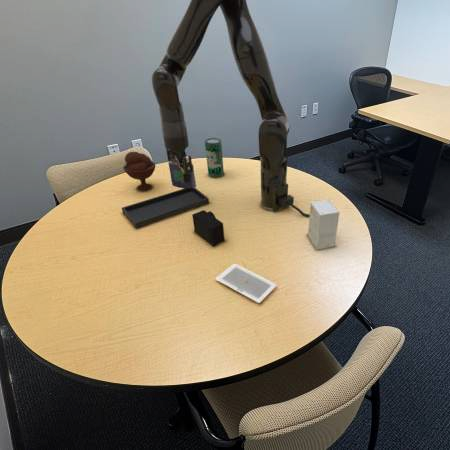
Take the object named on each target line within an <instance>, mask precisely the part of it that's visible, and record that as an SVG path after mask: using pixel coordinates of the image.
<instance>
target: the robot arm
mask: <svg viewBox="0 0 450 450" xmlns="http://www.w3.org/2000/svg"><path fill="white" fill-rule="evenodd" d="M219 7H220V10H221V13H222V15H223V18H224V21H225V24H226V28H227V33H228V34H227V35H228V39H229V43H230V47H231V48H230V49H231V52H232V55H233V58H234V59H233V60H234V62H235V65H236V66H237V70H238V72H239V75H240V77H241V79H242V81H243V83H244V84H245V86H246V87H247V89H248V90H249V92H250V93H251V95H252V96H253V98H254V100H255V102H256V105H257V107H258V110H259V113H260V117H261V122H260V124H259V127H258V153H259V158H260V205H261V208H262V209H265V210H266V211H272V212H274V213H276V212H278V211H281V210H283V209H286V208H288V207H289V206H290V207H291V208H293V209H294V210H296V211H297V212H298V213H299V214H301V216H304V217H307V218H309V217H310V213H305V212H303V211H302V210H301V209H300V208H299V207H298V206H296V205H295V204H294V199H295V198H294V196H293V195H291V194H289V183H287V181H288V180H287V178H288V158H289V157H288V153H287V152H288V151H287V150H288V135H289V133H290V122H289V119H288V116H287V114H286V112H285V110H284V107H283V105H282V103H281V100H280V98H279V96H278V92H277V88H276V84H275V81H274V77H273V73H272V69H271V66H270V63H269V60H268V56H267V53H266V50H265V47H264V45H263V41H262V39H261V37H260V34H259V32H258V29H257V27H256V24H255V22H254V20H253V17H252V14H251V13H250V10H249V6H248V3H247V0H190V2H189V3H188V6H187V9H186V11H185V13H184V15H183V16H182V18H181V20H180V22H179V24H178V26H177V27H176V30H175V32H174V33H173V35H172V37H171V39H170V41H169V43H168V45H167V48H166V53H165V55H164V56H163V58H162V60H161V62H160V64H159V65H158V67H157V68H155V70H154V71H153V72H152V75H151V85H152V90H153V93H154V96H155V99H156V102H157V105H158V111H159V117H160V122H161V123H160V125H161V132H162V138H163V143H164V147H165V151H166V156H167V161H168V162H169V161H171V162H172V161H173V160H175V161H176V162H177V164H178V166H179V168H181V170H182V173H183V179H184V183H189V182H191V178H190V173H192V172H193V168H192V164H193V161H192V156H191V155H187V152H186V149H187V148H188V147H189V145H190V143H189V137H188V130H187V123H186V120H185V115H184V107H183V104H182V102H181V100H180V96H179V90H178V86H179V85H180V83H181V82H182V79H183V77H184V75H185V73H186V71H187V68H188V67H189V65H190V64H191V63H192V61H193V59H194V57H195V56H196V54H197V52H198V50H199V48H200V46H201V44H202V42H203V40H204V37H205V35H206V32H207V30H208V28H209V25H210V23H211V21H212V19H213V17H214V15H215V13H216V12H217V10H218V9H219ZM181 163H183V164H181ZM183 167H184V168H183ZM189 167H190V168H189Z"/></svg>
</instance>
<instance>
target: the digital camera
mask: <svg viewBox="0 0 450 450" xmlns="http://www.w3.org/2000/svg"><path fill="white" fill-rule="evenodd" d="M191 217H192V222H193V229H194V230H193V231H194V233H195V234H197V235H198V236H199V237H200V238H202V239H203V240H204V241H206V242H207V243H208V244H209V245H210V246H212V247H215V246H218V245H220V244H222V243H223V242H225V230H224V223H223V222H222V221H221V220H219V219H218V218H217V217H216V215H215V214H214V212H212V211H210V210H209V211H206V210H205V209H202V210H200V211H197V212H194V213H193V214H192V215H191Z"/></svg>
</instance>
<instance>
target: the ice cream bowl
mask: <svg viewBox="0 0 450 450" xmlns="http://www.w3.org/2000/svg"><path fill="white" fill-rule="evenodd" d="M124 162H125V164H124V165H123V167H122V168H123V170H124V172H125V173H126V175H128V176H129V177H130V178H132V179H134V180H138V181H140V184H138V186H137V187H136V190H137V191H139V192H148V191H150V190H152V189H153V186H152V184H151V183H148V182H147V181H146V179H149V178H150V177H152V175H153V174H154V172H155V169H156V163H155V162H154V161H153V160H151V158H150V157H149V156H148V155H147V154H145V153H141V152H137V151H130V152H127V153H126V154H125V156H124Z"/></svg>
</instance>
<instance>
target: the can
mask: <svg viewBox="0 0 450 450" xmlns="http://www.w3.org/2000/svg"><path fill="white" fill-rule="evenodd" d="M204 146H205V147H204V148H205V156H206V165H207V175H208V177H209V178H213V179H215V178H216V179H217V178H218V179H219V178H221V177H224V176H225V175H224V174H225V173H224V172H225V169H224V160H223V158H224V157H223V146H222V140H221V138H218V137H208V138H206V139H205V140H204Z"/></svg>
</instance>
